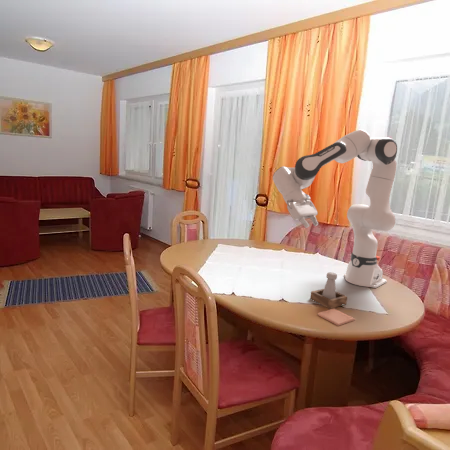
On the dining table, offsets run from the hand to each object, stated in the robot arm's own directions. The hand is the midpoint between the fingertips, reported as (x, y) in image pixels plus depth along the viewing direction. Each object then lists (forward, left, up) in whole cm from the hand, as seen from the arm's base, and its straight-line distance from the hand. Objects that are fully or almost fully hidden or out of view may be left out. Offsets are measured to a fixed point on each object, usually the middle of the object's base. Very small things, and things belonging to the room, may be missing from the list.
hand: (312, 226), depth 162 cm
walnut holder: (-3, +11, -31) cm, 33 cm away
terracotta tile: (+7, +23, -31) cm, 40 cm away
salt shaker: (-3, +11, -31) cm, 34 cm away
